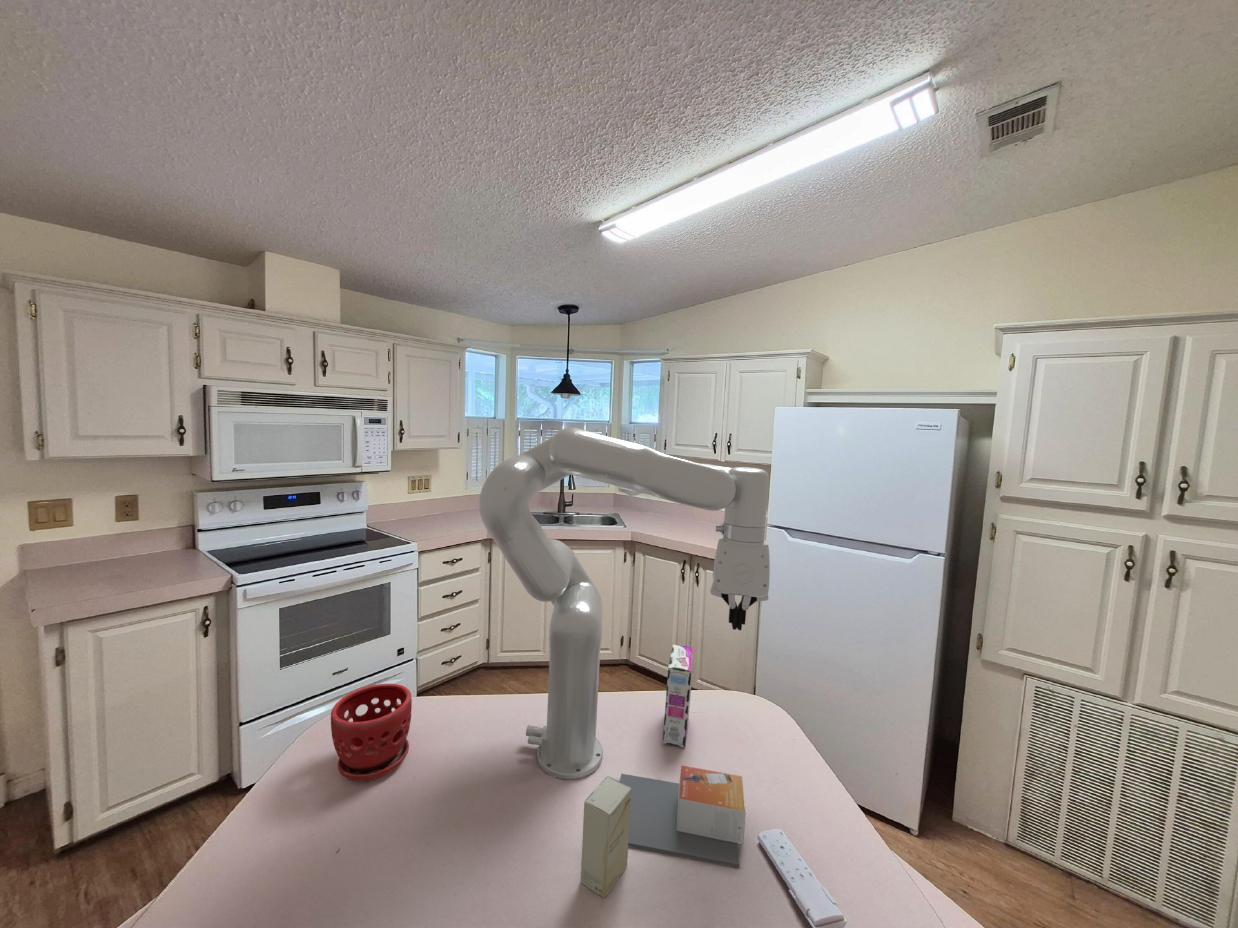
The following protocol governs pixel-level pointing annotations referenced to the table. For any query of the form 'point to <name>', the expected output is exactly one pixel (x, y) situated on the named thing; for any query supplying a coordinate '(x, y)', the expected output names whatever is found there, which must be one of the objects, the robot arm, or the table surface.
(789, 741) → the table surface
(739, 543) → the robot arm
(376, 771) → the plant pot
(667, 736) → the candy bar box
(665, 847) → the mat
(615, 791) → the skincare box
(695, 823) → the small box
